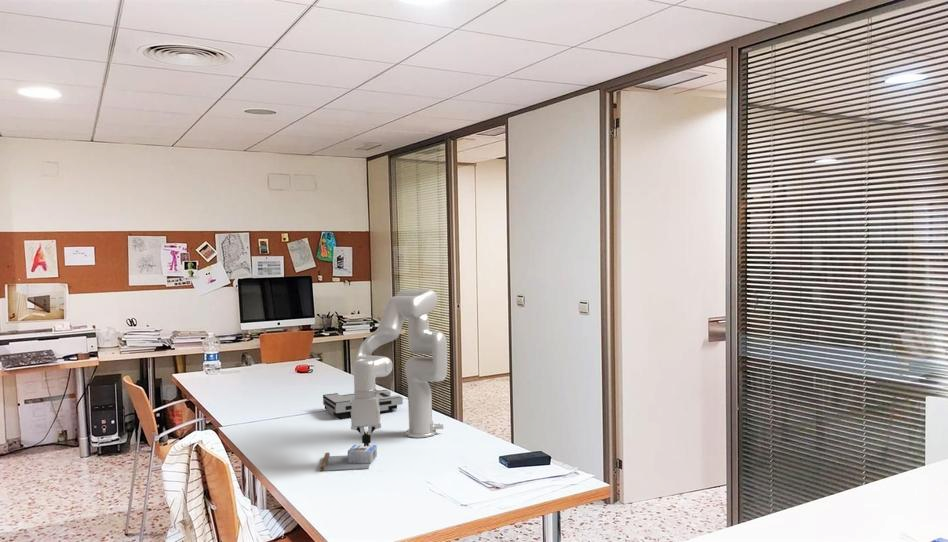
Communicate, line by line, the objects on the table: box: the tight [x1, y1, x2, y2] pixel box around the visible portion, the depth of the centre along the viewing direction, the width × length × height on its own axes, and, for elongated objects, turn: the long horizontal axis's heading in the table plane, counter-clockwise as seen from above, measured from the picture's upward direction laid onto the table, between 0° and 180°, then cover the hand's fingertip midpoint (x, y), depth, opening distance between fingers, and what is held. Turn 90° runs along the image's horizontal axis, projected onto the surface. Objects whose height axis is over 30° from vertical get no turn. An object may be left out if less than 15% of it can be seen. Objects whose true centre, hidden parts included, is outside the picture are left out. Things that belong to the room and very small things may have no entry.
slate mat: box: [323, 454, 370, 472], centre depth 241 cm, size 16×16×1 cm
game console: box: [322, 389, 404, 421], centre depth 320 cm, size 21×32×8 cm, turn 118°
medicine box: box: [347, 444, 378, 464], centre depth 243 cm, size 8×4×9 cm
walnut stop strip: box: [319, 452, 331, 473], centre depth 241 cm, size 1×16×2 cm, turn 6°
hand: (366, 445), depth 242 cm, fingers closed
